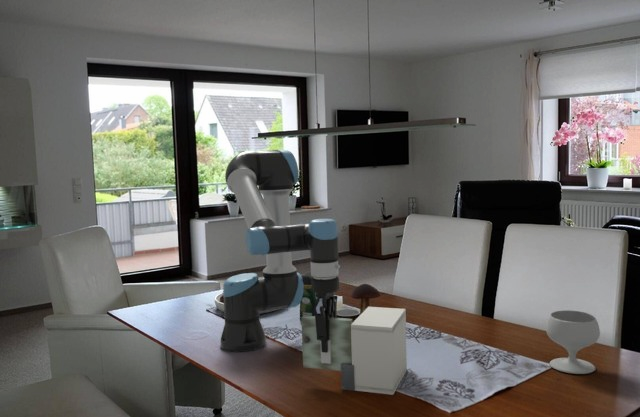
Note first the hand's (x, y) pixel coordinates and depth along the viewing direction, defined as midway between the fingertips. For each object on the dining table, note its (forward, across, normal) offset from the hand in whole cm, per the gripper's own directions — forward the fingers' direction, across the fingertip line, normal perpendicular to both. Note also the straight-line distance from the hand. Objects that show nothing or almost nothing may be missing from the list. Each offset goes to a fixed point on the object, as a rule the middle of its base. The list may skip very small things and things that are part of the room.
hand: (327, 360), depth 158 cm
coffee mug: (+7, +37, +6) cm, 38 cm away
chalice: (+7, +30, -63) cm, 71 cm away
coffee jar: (+7, +55, +26) cm, 61 cm away
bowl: (+7, +68, +58) cm, 89 cm away
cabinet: (+7, +7, -13) cm, 16 cm away
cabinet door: (+2, 0, 0) cm, 2 cm away
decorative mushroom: (+7, +56, +5) cm, 57 cm away
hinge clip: (+7, 0, -6) cm, 9 cm away
